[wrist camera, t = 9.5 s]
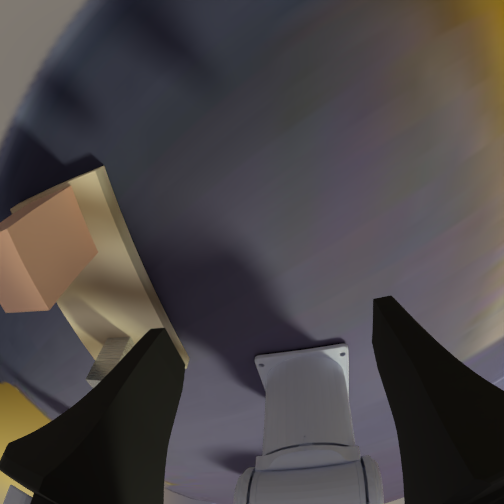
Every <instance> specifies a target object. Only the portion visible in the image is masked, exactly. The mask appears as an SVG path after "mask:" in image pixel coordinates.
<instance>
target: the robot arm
mask: <svg viewBox="0 0 504 504" xmlns="http://www.w3.org/2000/svg"><path fill="white" fill-rule="evenodd" d="M372 344H373V348H374V353H375V358H376V362H377V367H378V370H379V374H380V377H381V380H382V383H383V386H384V389H385V392H386V395H387V398H388V402H389V405H390V408H391V411H392V415H393V418H394V421H395V425H396V430H397V435H398V441H399V448H400V454H401V463H402V472H403V483H404V498H405V504H504V391H503V390H501V389H500V388H498V387H497V386H495V385H493V384H492V383H490V382H488V381H487V380H485V379H484V378H482V377H481V376H479V375H478V374H476V373H475V372H474V371H472V370H471V369H470V368H468V367H467V366H466V365H464V364H463V363H462V362H460V361H459V360H458V359H457V358H455V357H454V356H453V355H452V354H451V353H450V352H448V351H447V350H446V349H445V348H444V347H443V346H442V345H440V344H439V343H438V342H437V341H436V340H435V339H434V338H433V337H432V336H431V335H430V334H429V333H428V332H427V331H426V330H425V329H423V328H422V327H421V326H420V325H419V324H418V323H417V322H416V321H415V320H414V319H413V317H412V316H411V315H410V314H409V313H408V312H407V311H406V310H405V309H404V308H403V307H402V306H401V305H400V304H399V303H398V302H397V301H396V300H395V299H394V298H393V297H392V296H387V297H382V298H376V299H373V334H372ZM342 352H343V353H342ZM255 364H256V367H257V370H258V373H259V375H260V378H261V381H262V384H263V386H264V389H265V392H266V400H265V419H264V437H263V453H262V456H257V457H256V465H255V467H250V468H248V469H246V470H245V472H244V473H243V474H242V475H241V476H240V477H239V479H238V481H237V484H236V488H235V494H234V504H383V486H382V479H381V474H380V470H379V466H378V464H377V462H376V461H375V460H373V459H372V458H371V457H370V456H368V455H366V456H361V458H360V451H359V446H355V440H354V432H353V425H352V418H351V411H350V405H349V358H348V346H347V344H336V345H330V346H324V347H318V348H311V349H304V350H297V351H290V352H282V353H274V354H265V355H258V356H256V357H255ZM184 373H185V363H184V361H183V359H182V358H181V356H180V354H179V352H178V351H177V349H176V347H175V345H174V343H173V342H172V340H171V338H170V336H169V334H168V332H167V331H166V329H165V328H154V329H150V330H149V331H148V332H147V333H146V334H145V335H144V336H143V337H142V338H141V339H140V340H139V341H138V342H137V343H136V344H135V345H134V346H133V348H132V349H131V350H130V351H129V352H128V353H127V354H126V355H125V356H124V357H123V358H122V359H121V361H120V362H119V363H118V364H117V365H116V366H115V367H114V368H113V369H112V370H111V371H110V372H109V373H108V374H107V375H106V376H105V377H104V378H103V379H102V380H101V381H100V382H99V383H98V384H97V385H96V386H95V387H94V388H93V389H92V390H91V391H90V392H89V393H88V394H87V395H86V396H84V397H83V398H82V399H81V400H80V401H78V402H77V403H76V404H75V405H74V406H72V407H71V408H70V409H68V410H67V411H66V412H64V413H63V414H61V415H60V416H59V417H57V418H56V419H54V420H53V421H51V422H50V423H48V424H46V425H45V426H43V427H41V428H40V429H38V430H36V431H34V432H32V433H31V434H28V435H26V436H24V437H22V438H20V439H17V440H15V441H13V442H10V443H9V444H8V445H7V447H6V449H5V452H4V453H3V456H2V458H1V460H0V470H1V471H2V472H3V473H5V474H6V475H8V476H9V477H10V478H12V479H13V480H15V481H16V482H18V483H20V484H21V485H23V486H24V487H26V488H27V489H29V490H30V491H32V492H34V495H33V497H31V496H29V495H27V494H26V493H24V492H23V491H21V490H19V489H18V488H16V487H14V486H13V485H10V487H9V490H8V492H7V495H6V498H5V500H4V503H3V504H163V501H164V499H163V497H164V476H165V465H166V457H167V449H168V443H169V439H170V435H171V431H172V427H173V423H174V419H175V416H176V412H177V408H178V404H179V400H180V397H181V393H182V388H183V381H184Z"/></svg>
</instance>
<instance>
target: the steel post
mask: <svg viewBox="0 0 504 504" xmlns="http://www.w3.org/2000/svg"><path fill="white" fill-rule="evenodd" d="M134 345H135V343H134V342H133V340H132V338H131V337H115V338H107V340H106V342H105V344H104V345H103V347H102V349H101V351H100V353H99V355H98V357H97V358H96V360H95V362H94V364H93V366H92V368H91V370H90V372H89V374H88V376H87V378H86V381H87V382H88V383H89V384H90V385H91V386H92V388H94V387H95V386H96V385H97V384H98V383H99V382H100V381H101V380H102V379H103V378H104V377H105V376H106V375H107V374H108V373H109V372H110V371H111V370H112V369H113V368H114V367H115V366H116V365H117V364H118V363H119V362H120V361H121V359H122V358H123V357H124V356H125V355H126V354H127V353H128V352H129V351H130V350H131V349H132V348H133V346H134Z"/></svg>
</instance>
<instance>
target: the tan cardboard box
mask: <svg viewBox="0 0 504 504" xmlns="http://www.w3.org/2000/svg"><path fill="white" fill-rule="evenodd" d="M97 253H98V251H97V248H96V246H95V244H94V242H93V239H92V237H91V235H90V232H89V230H88V228H87V225H86V223H85V220H84V218H83V215H82V213H81V210H80V208H79V205H78V203H77V200H76V197H75V195H74V192H73V189H72V187H71V186H69V187H66V188H64V189H61V190H59V191H56V192H54V193H52V194H49V195H47V196H45V197H42V198H40V199H38V200H36V201H33V202H31V203H29V204H27V205H25V206H24V207H22V208H21V209H19V210H18V211H16V212H15V213H13V214H12V215H10V216H9V217H8V218H6V219H5V220H3V221H2V222H0V304H1V306H2V307H3V309H4V311H5V312H6V313H13V312H29V311H44V310H50V309H51V307H52V306H53V305H54V304H55V302H56V301H57V300H58V299H59V297H60V296H61V295H62V294H63V293H64V291H65V290H66V289H67V288H68V287H69V285H70V284H71V283H72V282H73V281H74V279H75V278H76V277H77V276H78V275H79V274H80V272H81V271H82V270H83V269H84V268H85V267H86V266H87V264H88V263H89V262H90V261H91V260H92V259H93V258H94V257H95V255H96V254H97Z"/></svg>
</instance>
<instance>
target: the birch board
mask: <svg viewBox="0 0 504 504" xmlns="http://www.w3.org/2000/svg"><path fill="white" fill-rule="evenodd" d="M69 186H71V187H72V189H73V192H74V195H75V197H76V200H77V203H78V205H79V208H80V210H81V213H82V215H83V218H84V220H85V223H86V225H87V228H88V230H89V232H90V235H91V237H92V239H93V242H94V244H95V246H96V248H97V251H98V253H97V254H96V255H95V257H94V258H93V259H92V260H91V261H90V262H89V263H88V264H87V266H86V267H85V268H84V269H83V270H82V271H81V272H80V274H79V275H78V276H77V277H76V278H75V279H74V281H73V282H72V283H71V284H70V285H69V287H68V288H67V289H66V290H65V291H64V293H63V294H62V295H61V296H60V297H59V299H58V300H57V301H56V302H57V304H58V306H59V307H60V309H61V310H62V312H63V314H64V315H65V317H66V318H67V320H68V322H69V323H70V325H71V326H72V328H73V329H74V331H75V332H76V334H77V335H78V337H79V338H80V340H81V341H82V342H83V344H84V345H85V347H86V348H87V350H88V351H89V352H90V354H91V355H92V356H93V358H94V359H95V360H96V358H97V357H98V355H99V353H100V351H101V349H102V347H103V345H104V344H105V342H106V340H107V338H115V337H131V338H132V340H133V342H134V343H135V344H136V343H137V342H138V341H139V340H140V339H141V338H142V337H143V336H144V335H145V334H146V333H147V332H148V331H149V330H150V329H154V328H165V329H166V331H167V332H168V334H169V336H170V338H171V340H172V342H173V343H174V345H175V347H176V349H177V351H178V352H179V354H180V356H181V358H182V359H183V361H184V363H185V368H187V366H188V362H189V359H190V358H189V357H188V355H187V353H186V351H185V349H184V347H183V346H182V344H181V342H180V340H179V338H178V336H177V334H176V332H175V330H174V328H173V326H172V325H171V323H170V321H169V319H168V317H167V315H166V313H165V311H164V309H163V307H162V304H161V302H160V300H159V298H158V296H157V294H156V292H155V290H154V288H153V286H152V283H151V281H150V279H149V277H148V275H147V273H146V270H145V268H144V266H143V264H142V261H141V259H140V257H139V254H138V252H137V250H136V248H135V245H134V243H133V240H132V238H131V236H130V233H129V231H128V228H127V226H126V223H125V221H124V218H123V216H122V213H121V211H120V208H119V205H118V203H117V200H116V198H115V195H114V192H113V189H112V187H111V184H110V181H109V178H108V175H107V173H106V170H105V167H104V166H102V167H99V168H97V169H94V170H92V171H89V172H87V173H84V174H82V175H79V176H77V177H75V178H72V179H70V180H68V181H65V182H63V183H61V184H59V185H56V186H54V187H52V188H50V189H48V190H45V191H43V192H41V193H39V194H37V195H35V196H33V197H31V198H29V199H27V200H25V201H23V202H21V203H19V204H17V205H16V206H14V207H13V208H11V209H10V210H11V213H12V214H13V213H15V212H16V211H18V210H19V209H21V208H22V207H24V206H25V205H27V204H29V203H31V202H33V201H36V200H38V199H40V198H42V197H45V196H47V195H49V194H52V193H54V192H56V191H59V190H61V189H64V188H66V187H69Z"/></svg>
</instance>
